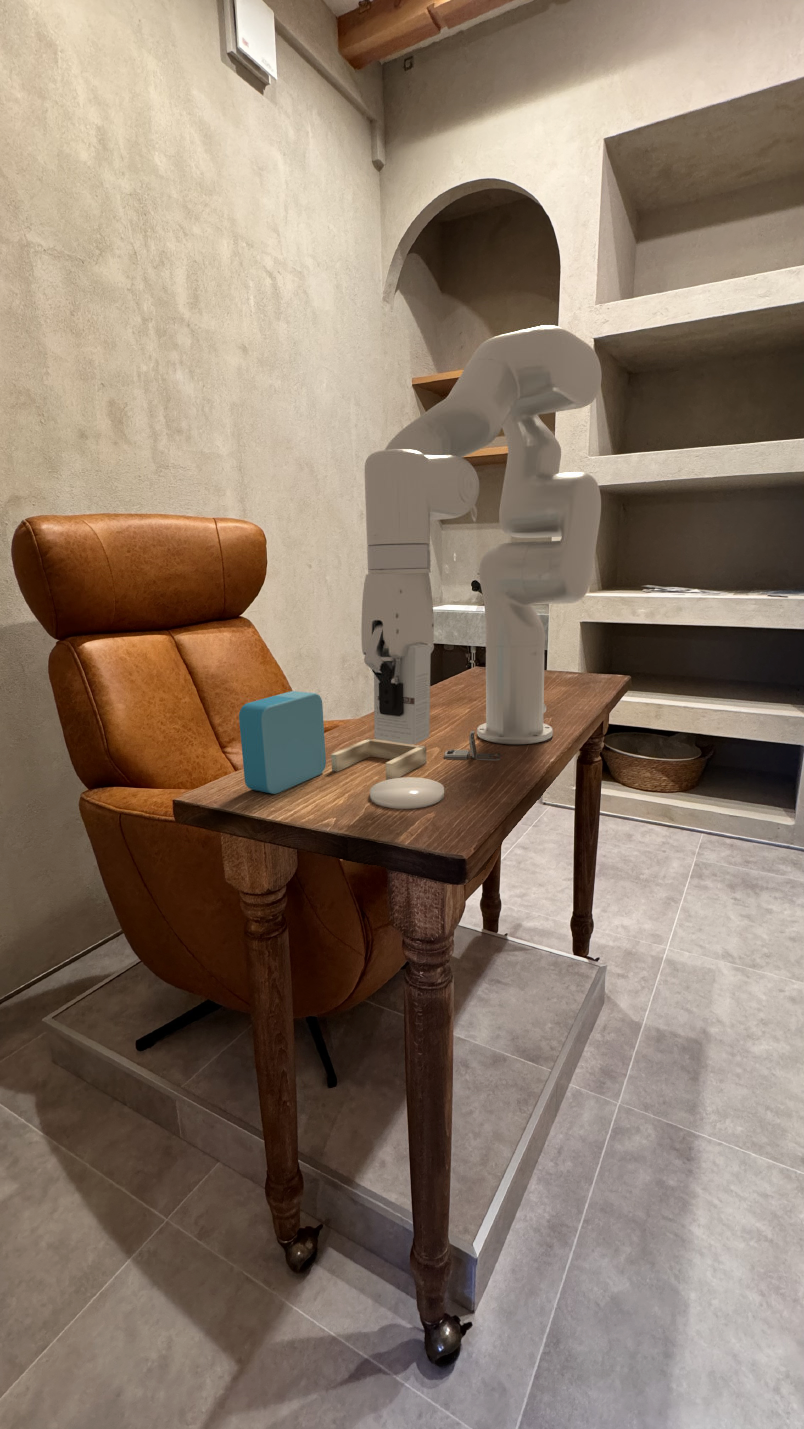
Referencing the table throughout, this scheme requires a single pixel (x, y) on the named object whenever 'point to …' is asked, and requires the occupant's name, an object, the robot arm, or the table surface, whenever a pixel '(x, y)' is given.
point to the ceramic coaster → (407, 793)
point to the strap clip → (466, 753)
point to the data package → (282, 741)
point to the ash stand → (382, 756)
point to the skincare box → (408, 700)
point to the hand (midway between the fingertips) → (402, 709)
